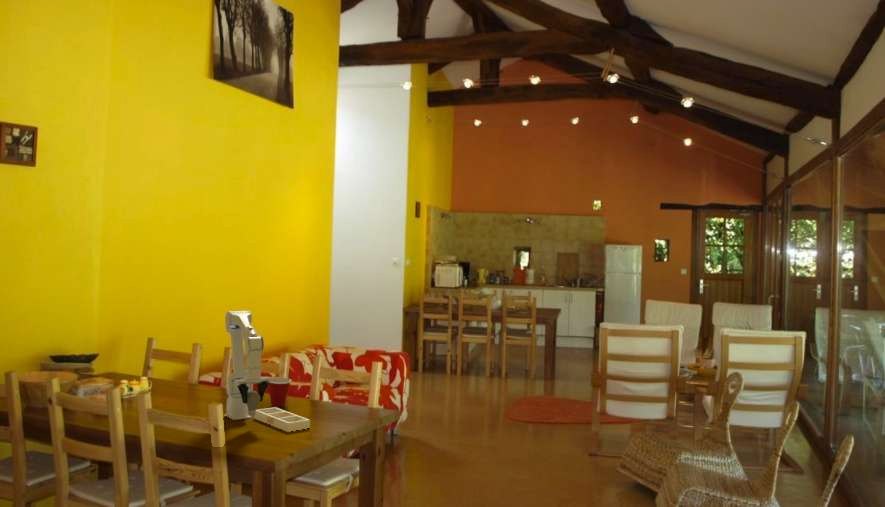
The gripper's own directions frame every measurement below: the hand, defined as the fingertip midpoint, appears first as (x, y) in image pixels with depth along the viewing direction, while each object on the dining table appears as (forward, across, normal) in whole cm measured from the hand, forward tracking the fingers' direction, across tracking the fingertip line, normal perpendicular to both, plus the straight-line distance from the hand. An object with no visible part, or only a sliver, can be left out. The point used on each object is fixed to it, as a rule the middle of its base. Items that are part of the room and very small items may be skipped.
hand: (252, 402), depth 286 cm
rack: (+10, +13, 0) cm, 17 cm away
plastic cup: (+10, +28, +29) cm, 42 cm away
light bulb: (+6, 0, -1) cm, 6 cm away
